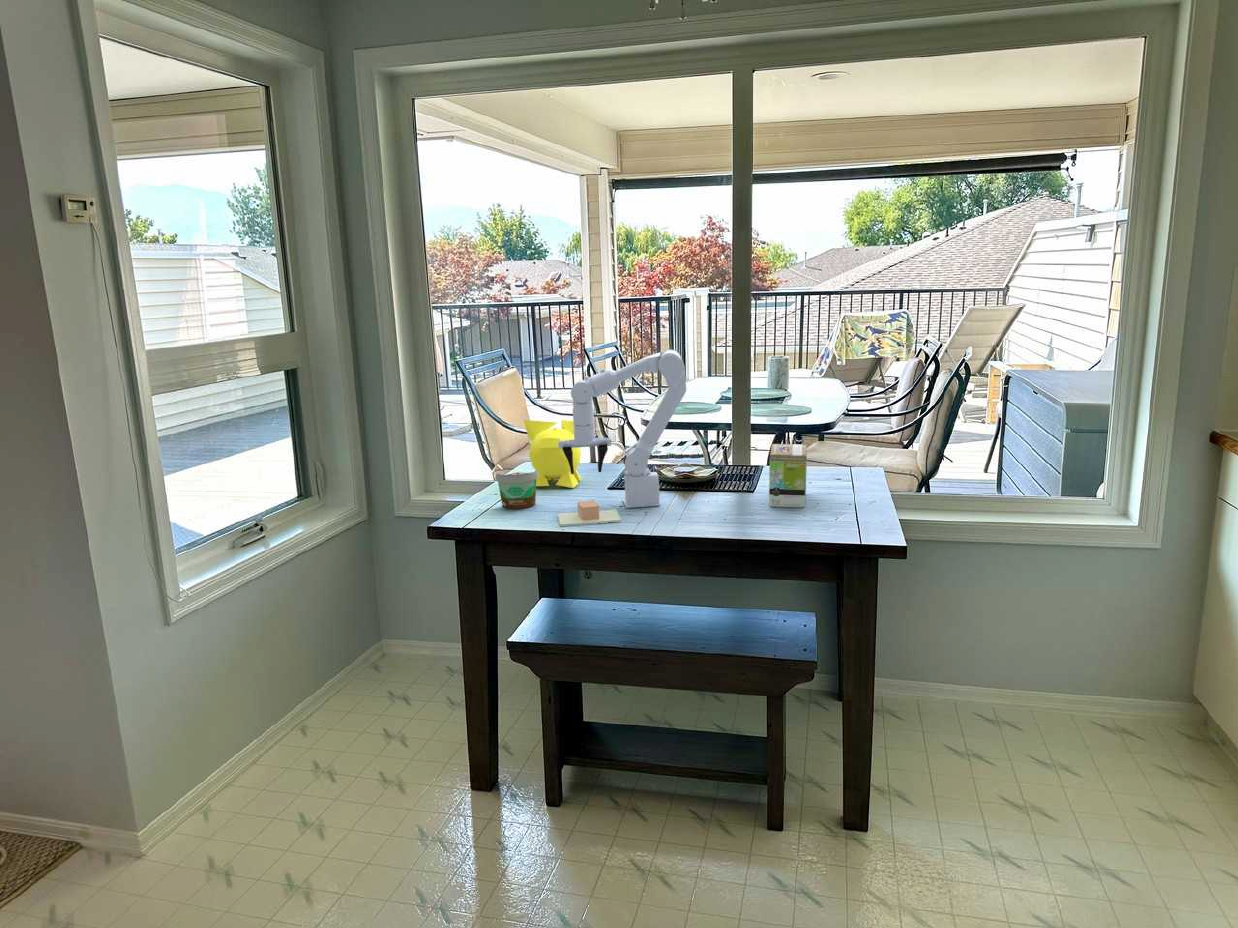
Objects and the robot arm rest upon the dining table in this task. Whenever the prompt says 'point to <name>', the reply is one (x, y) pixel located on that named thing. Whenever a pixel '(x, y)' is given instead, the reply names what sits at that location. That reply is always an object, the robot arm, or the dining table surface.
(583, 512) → the light orange block
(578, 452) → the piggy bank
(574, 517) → the mat
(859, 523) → the dining table surface
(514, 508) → the food container
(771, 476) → the tea box
